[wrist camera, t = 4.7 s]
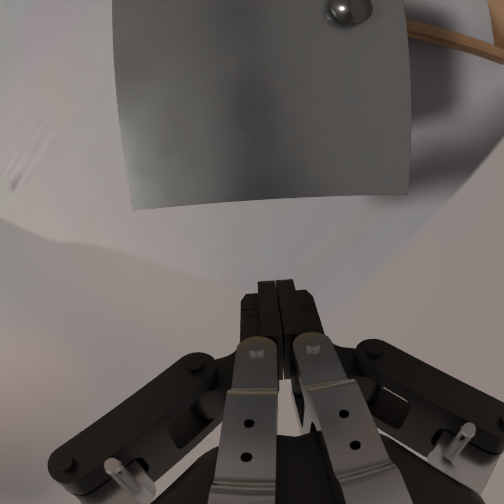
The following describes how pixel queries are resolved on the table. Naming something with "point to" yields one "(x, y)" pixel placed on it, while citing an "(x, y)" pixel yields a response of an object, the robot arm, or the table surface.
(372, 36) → the control box
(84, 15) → the table surface
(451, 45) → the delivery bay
